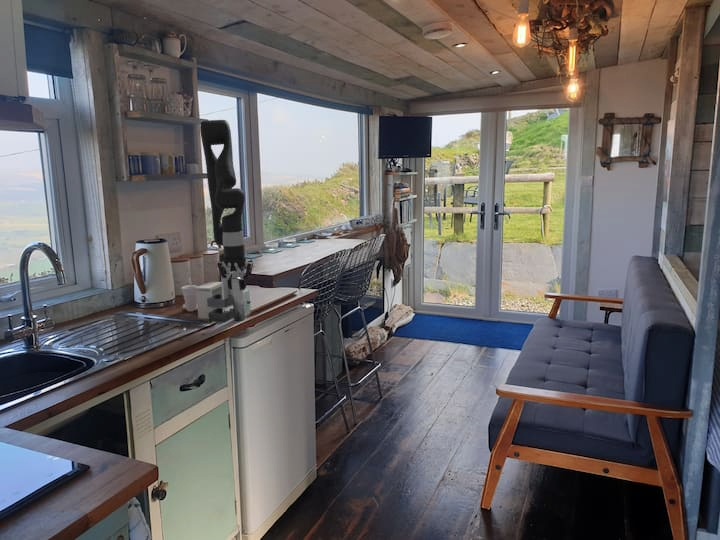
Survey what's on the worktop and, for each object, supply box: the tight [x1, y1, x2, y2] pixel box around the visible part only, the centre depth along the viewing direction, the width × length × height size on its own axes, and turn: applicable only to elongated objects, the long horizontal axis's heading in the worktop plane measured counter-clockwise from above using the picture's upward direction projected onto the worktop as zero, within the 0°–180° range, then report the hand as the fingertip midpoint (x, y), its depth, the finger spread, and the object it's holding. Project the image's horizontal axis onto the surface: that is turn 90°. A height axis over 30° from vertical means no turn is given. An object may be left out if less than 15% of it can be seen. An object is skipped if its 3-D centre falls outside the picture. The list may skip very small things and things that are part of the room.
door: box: [231, 277, 252, 322], centre depth 204 cm, size 4×10×16 cm, turn 165°
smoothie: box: [180, 275, 199, 312], centre depth 217 cm, size 6×6×14 cm
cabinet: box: [196, 281, 234, 323], centre depth 207 cm, size 13×13×12 cm
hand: (237, 289), depth 201 cm, fingers open, 4 cm apart
